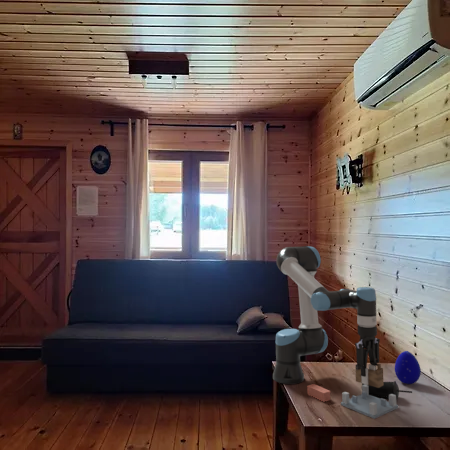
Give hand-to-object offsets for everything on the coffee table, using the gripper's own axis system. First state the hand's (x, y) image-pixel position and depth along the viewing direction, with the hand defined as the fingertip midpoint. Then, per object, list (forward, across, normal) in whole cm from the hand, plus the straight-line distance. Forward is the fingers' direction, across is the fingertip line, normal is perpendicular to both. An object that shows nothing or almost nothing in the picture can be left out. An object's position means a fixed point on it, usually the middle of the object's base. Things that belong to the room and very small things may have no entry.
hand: (368, 382), depth 168 cm
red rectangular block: (+10, -9, +19) cm, 23 cm away
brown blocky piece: (0, 0, 0) cm, 0 cm away
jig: (+10, 0, 0) cm, 10 cm away
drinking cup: (+7, +10, +10) cm, 16 cm away
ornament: (+10, +36, +5) cm, 37 cm away
